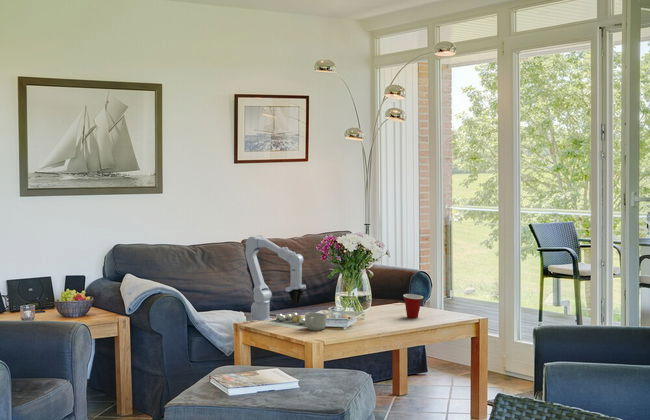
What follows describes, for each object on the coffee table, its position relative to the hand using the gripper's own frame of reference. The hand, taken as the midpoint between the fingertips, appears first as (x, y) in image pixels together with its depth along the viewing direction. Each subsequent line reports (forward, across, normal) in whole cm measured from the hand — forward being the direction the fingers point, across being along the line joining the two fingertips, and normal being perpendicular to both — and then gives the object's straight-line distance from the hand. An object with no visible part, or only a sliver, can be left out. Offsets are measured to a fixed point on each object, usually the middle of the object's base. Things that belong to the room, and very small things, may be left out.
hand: (295, 303), depth 440 cm
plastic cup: (+10, +54, -38) cm, 67 cm away
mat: (+10, -3, 0) cm, 10 cm away
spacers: (+10, +2, 0) cm, 10 cm away
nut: (+10, +1, 0) cm, 10 cm away
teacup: (+10, -9, -19) cm, 23 cm away
